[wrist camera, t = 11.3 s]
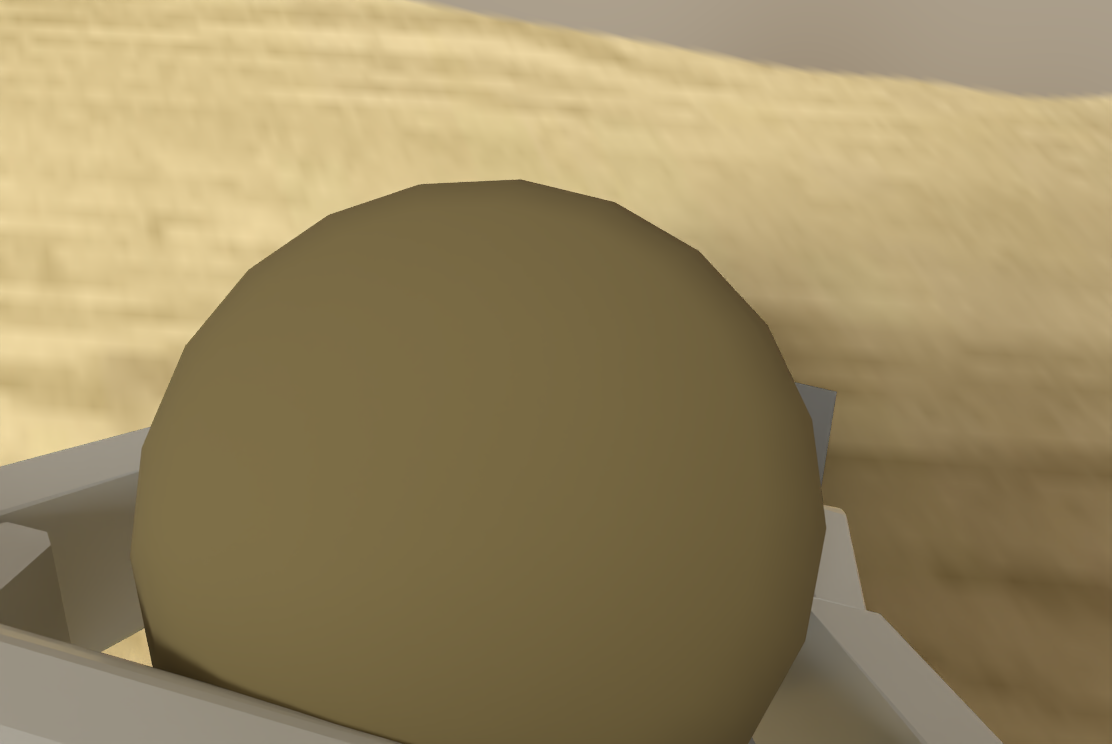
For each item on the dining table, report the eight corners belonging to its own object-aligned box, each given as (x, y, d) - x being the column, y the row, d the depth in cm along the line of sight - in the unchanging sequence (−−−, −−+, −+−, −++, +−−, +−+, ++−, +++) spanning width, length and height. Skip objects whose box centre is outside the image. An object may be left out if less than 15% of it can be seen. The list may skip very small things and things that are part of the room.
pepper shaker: (325, 642, 15) (-270, 730, 4) (468, 362, 17) (277, -69, 6) (620, 794, 14) (749, 1340, 4) (743, 484, 16) (1089, 232, 5)
